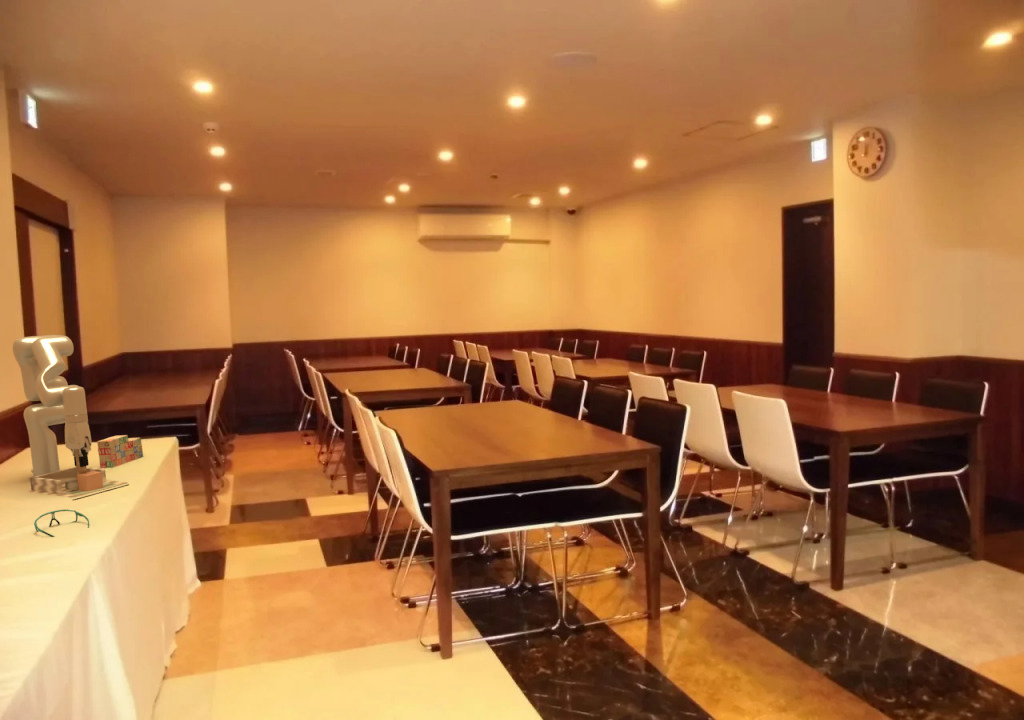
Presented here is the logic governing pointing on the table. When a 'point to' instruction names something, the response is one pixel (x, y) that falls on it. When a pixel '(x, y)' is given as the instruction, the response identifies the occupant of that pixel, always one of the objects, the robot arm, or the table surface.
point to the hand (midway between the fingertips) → (81, 465)
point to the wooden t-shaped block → (74, 482)
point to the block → (90, 481)
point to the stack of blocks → (118, 450)
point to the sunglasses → (57, 520)
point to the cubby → (56, 480)
